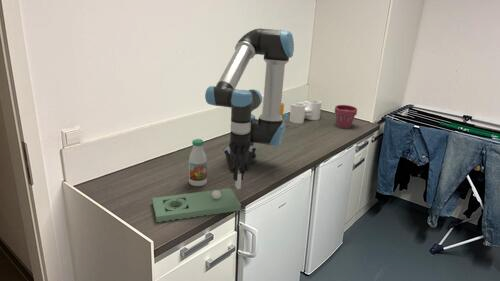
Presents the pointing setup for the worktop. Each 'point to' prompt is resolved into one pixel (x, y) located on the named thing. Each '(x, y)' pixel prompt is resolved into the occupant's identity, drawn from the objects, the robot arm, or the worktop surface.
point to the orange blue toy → (282, 113)
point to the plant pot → (345, 115)
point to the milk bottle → (197, 164)
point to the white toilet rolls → (305, 111)
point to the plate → (194, 205)
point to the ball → (216, 194)
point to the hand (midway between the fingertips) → (237, 187)
